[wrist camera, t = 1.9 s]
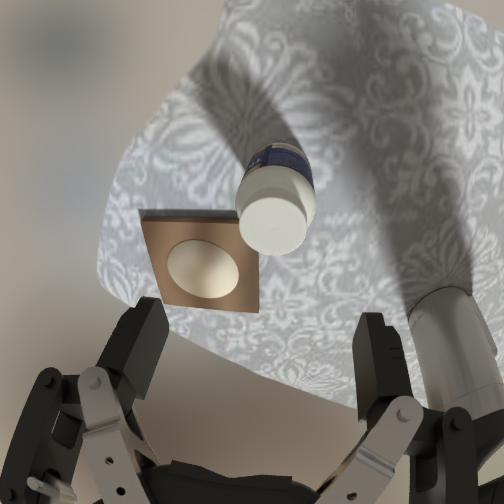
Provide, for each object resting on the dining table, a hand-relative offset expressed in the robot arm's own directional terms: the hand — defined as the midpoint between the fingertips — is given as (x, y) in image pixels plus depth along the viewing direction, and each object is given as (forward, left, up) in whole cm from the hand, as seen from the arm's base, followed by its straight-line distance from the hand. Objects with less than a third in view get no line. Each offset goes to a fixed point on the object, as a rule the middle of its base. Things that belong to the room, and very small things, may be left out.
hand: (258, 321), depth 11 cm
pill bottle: (0, 0, -17) cm, 17 cm away
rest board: (+8, +11, -17) cm, 21 cm away
